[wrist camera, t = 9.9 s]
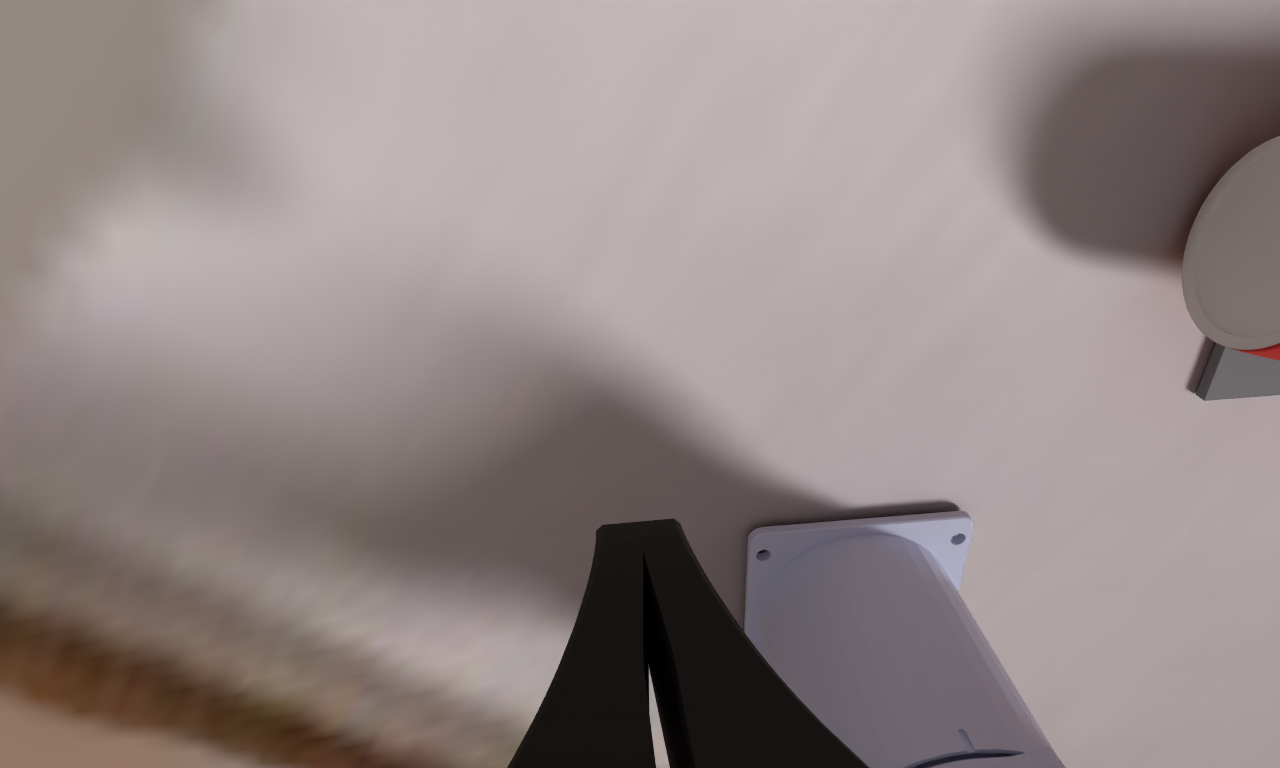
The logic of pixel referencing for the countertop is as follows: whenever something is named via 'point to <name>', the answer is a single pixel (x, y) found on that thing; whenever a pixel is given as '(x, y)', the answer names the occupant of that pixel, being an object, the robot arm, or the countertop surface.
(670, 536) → the robot arm
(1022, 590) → the countertop surface
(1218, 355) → the mat
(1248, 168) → the paper cup
